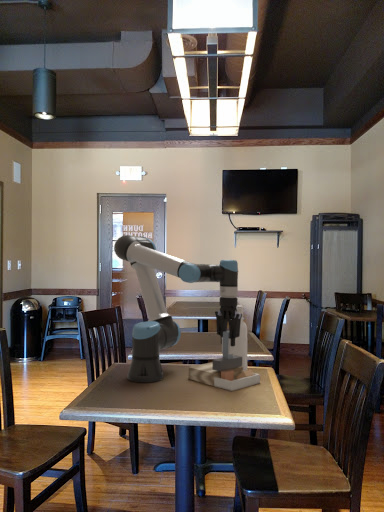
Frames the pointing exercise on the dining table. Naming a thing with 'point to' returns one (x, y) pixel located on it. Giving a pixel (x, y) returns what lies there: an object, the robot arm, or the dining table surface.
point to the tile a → (227, 375)
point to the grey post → (226, 357)
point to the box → (237, 382)
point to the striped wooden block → (208, 373)
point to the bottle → (241, 340)
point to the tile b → (245, 374)
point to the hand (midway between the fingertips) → (227, 353)
